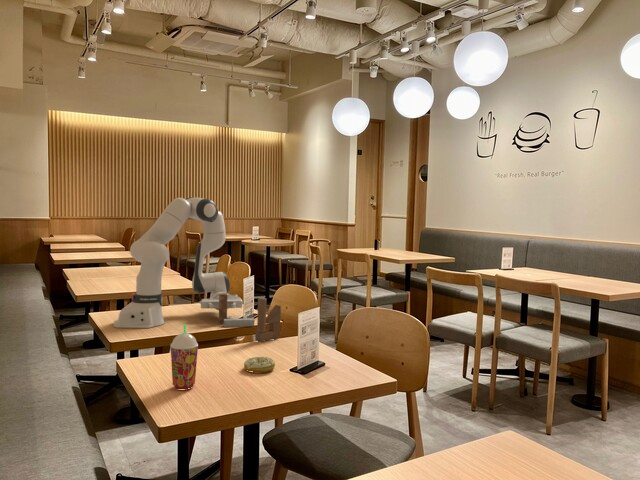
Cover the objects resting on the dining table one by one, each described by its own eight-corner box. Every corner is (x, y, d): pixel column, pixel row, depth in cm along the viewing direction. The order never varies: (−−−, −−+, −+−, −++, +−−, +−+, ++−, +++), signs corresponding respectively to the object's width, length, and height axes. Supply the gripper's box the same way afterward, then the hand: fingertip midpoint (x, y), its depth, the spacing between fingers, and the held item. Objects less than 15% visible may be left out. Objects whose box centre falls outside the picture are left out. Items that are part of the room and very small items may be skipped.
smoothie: (165, 387, 167) (165, 323, 165) (188, 381, 172) (189, 320, 171) (178, 394, 161) (179, 329, 159) (202, 388, 167) (203, 325, 165)
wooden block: (280, 338, 230) (281, 297, 229) (260, 342, 223) (261, 299, 222) (274, 336, 233) (276, 295, 232) (254, 340, 226) (255, 298, 225)
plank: (219, 323, 253) (219, 294, 252) (218, 322, 257) (219, 293, 256) (226, 323, 254) (227, 294, 253) (225, 321, 258) (226, 293, 257)
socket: (224, 326, 248) (224, 320, 247) (222, 322, 256) (222, 316, 256) (254, 325, 251) (254, 319, 251) (251, 321, 260) (251, 315, 259)
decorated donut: (242, 366, 191) (242, 356, 190) (271, 364, 194) (271, 354, 193) (246, 375, 181) (246, 364, 180) (277, 373, 184) (277, 362, 183)
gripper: (199, 295, 265) (200, 300, 252) (240, 294, 270) (244, 299, 257) (199, 307, 265) (200, 313, 252) (240, 306, 271) (243, 312, 258)
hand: (222, 306), depth 255 cm, fingers open, 8 cm apart
